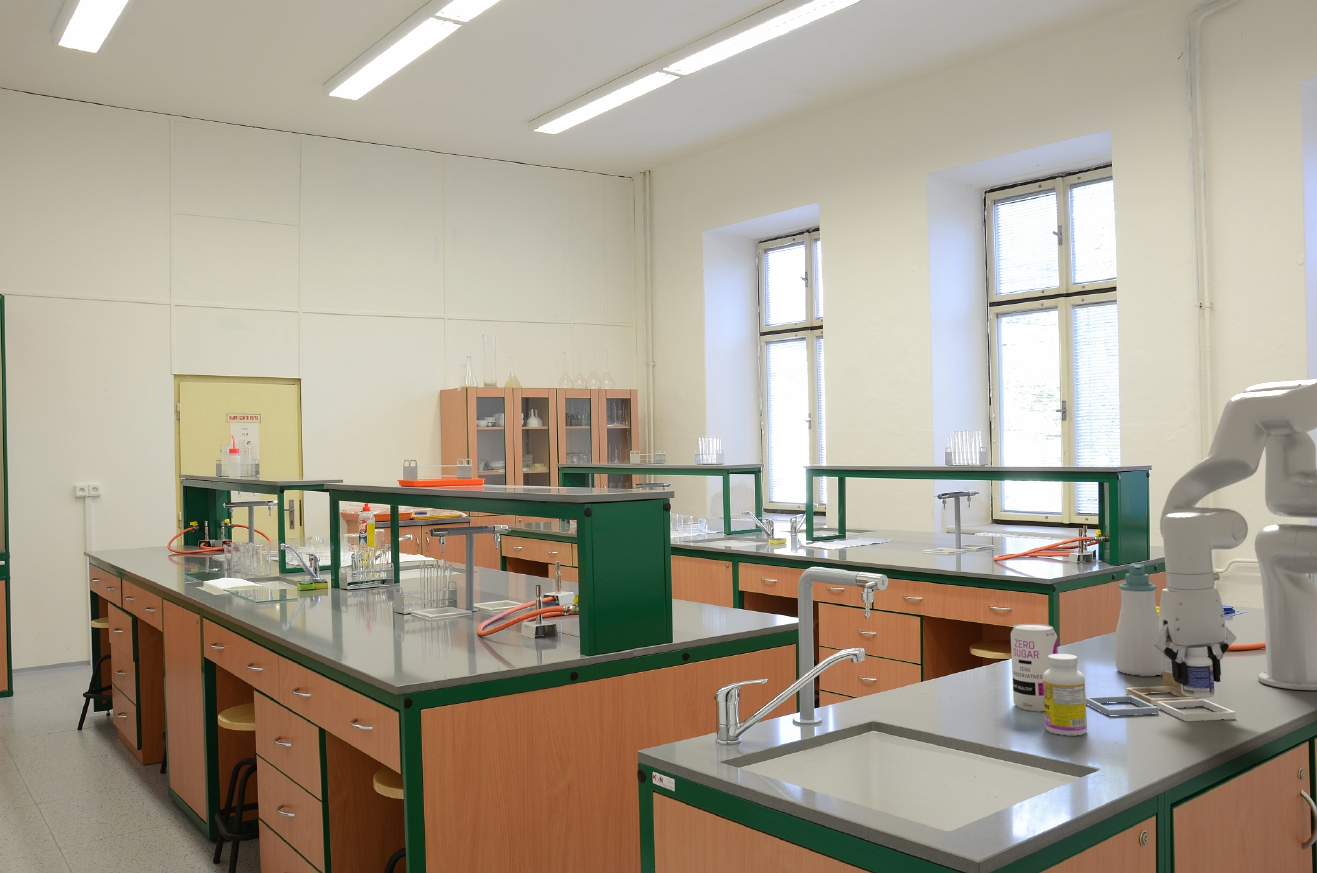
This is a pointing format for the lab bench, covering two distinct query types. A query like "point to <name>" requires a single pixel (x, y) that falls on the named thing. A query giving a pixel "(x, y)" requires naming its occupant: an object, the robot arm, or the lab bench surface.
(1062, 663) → the supplement bottle
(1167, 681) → the sprinkles bottle
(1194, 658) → the pill bottle
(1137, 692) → the tray birch
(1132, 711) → the tray slate
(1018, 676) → the supplement can
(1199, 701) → the tray white
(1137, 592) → the soap bottle
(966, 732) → the lab bench surface
